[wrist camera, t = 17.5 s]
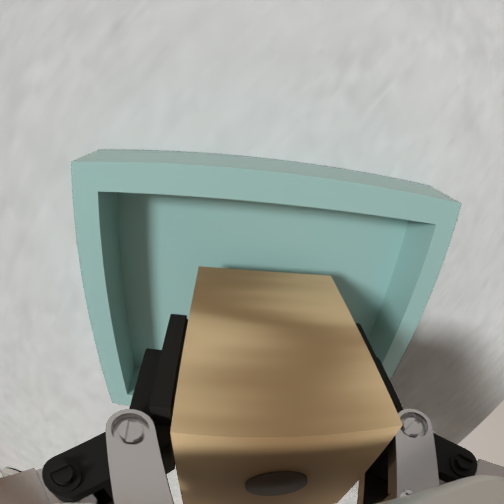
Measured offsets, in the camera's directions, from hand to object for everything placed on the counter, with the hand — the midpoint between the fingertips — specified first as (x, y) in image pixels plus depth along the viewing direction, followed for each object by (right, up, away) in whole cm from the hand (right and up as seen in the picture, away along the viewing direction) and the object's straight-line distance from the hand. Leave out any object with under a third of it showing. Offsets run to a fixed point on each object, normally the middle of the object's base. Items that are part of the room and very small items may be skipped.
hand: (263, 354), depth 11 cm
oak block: (0, +1, +2) cm, 2 cm away
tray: (0, +2, +3) cm, 4 cm away
